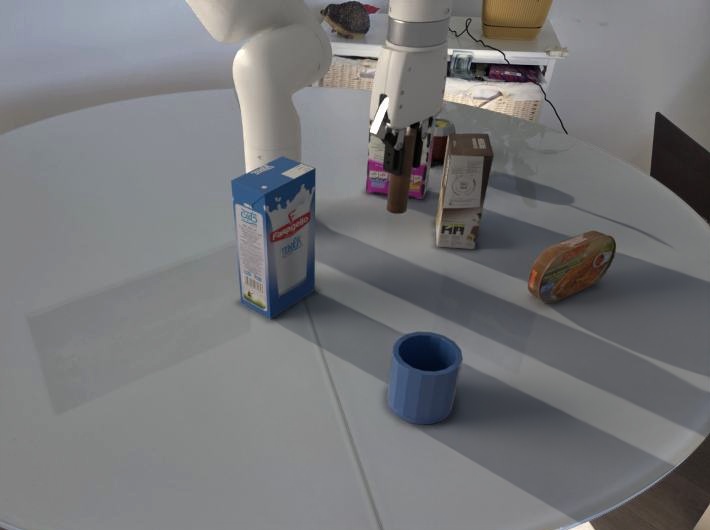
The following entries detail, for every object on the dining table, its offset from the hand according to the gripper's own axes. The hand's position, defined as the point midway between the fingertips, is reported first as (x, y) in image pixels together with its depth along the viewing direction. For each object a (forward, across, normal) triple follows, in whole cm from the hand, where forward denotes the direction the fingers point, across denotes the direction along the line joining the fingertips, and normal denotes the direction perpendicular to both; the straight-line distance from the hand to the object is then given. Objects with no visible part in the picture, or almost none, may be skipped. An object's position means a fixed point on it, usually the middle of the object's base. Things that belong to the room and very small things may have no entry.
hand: (401, 167), depth 92 cm
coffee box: (+17, -15, +1) cm, 23 cm away
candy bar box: (+17, -20, -17) cm, 32 cm away
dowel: (+7, 0, 0) cm, 7 cm away
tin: (+17, -14, +22) cm, 31 cm away
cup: (+16, +20, +24) cm, 35 cm away
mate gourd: (+17, -35, -21) cm, 45 cm away
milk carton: (+17, +19, -5) cm, 26 cm away
